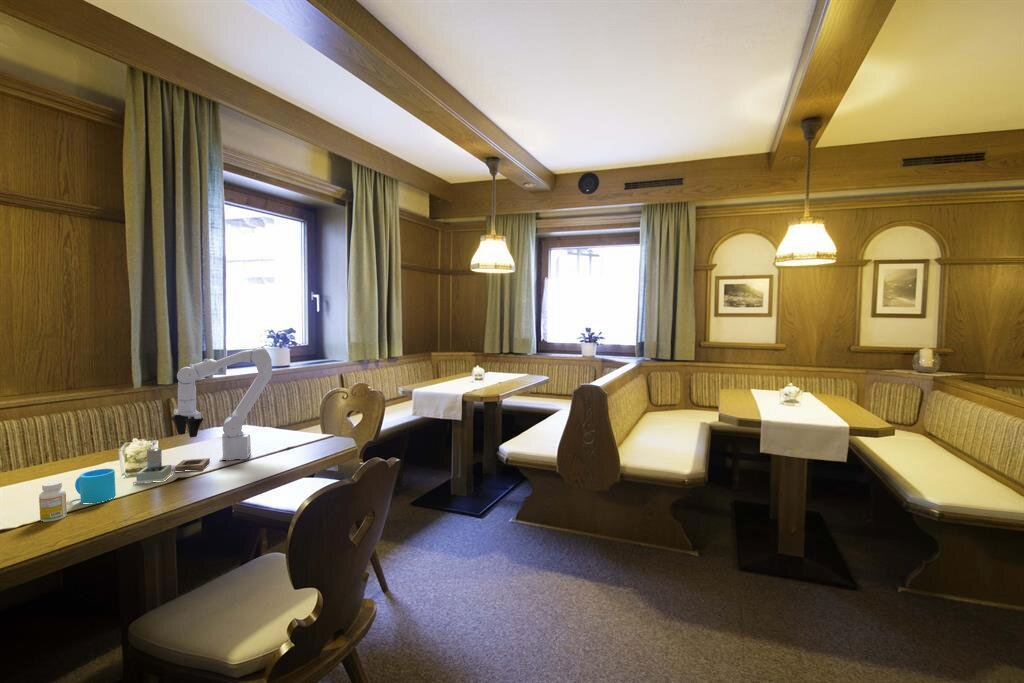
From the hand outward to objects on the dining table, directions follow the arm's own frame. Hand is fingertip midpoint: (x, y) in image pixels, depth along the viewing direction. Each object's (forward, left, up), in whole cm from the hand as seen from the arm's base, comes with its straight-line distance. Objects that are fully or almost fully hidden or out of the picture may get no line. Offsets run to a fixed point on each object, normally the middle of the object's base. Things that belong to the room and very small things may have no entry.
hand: (187, 435), depth 187 cm
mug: (+16, +33, -11) cm, 38 cm away
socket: (-3, +7, -10) cm, 13 cm away
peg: (+5, +17, -10) cm, 20 cm away
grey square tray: (+5, +17, -10) cm, 20 cm away
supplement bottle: (+19, +47, -11) cm, 52 cm away
